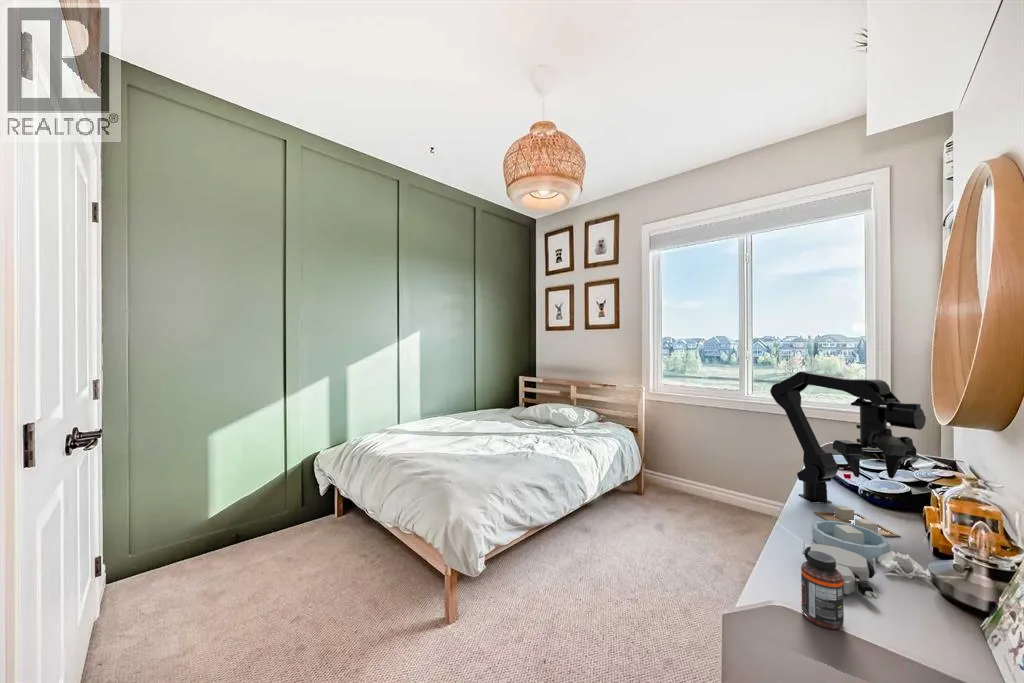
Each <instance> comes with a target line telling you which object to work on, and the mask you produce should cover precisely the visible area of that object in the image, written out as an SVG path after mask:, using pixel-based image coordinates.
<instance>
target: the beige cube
mask: <svg viewBox="0 0 1024 683" xmlns="http://www.w3.org/2000/svg"><path fill="white" fill-rule="evenodd" d="M834 534H835V538H837V539H840V540H843V541H847V542H851V543H856V544H860V545H864V533H862V532H861V531H859V530H857V529H855V528H854V527H852V526H850V525H834Z"/></svg>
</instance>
